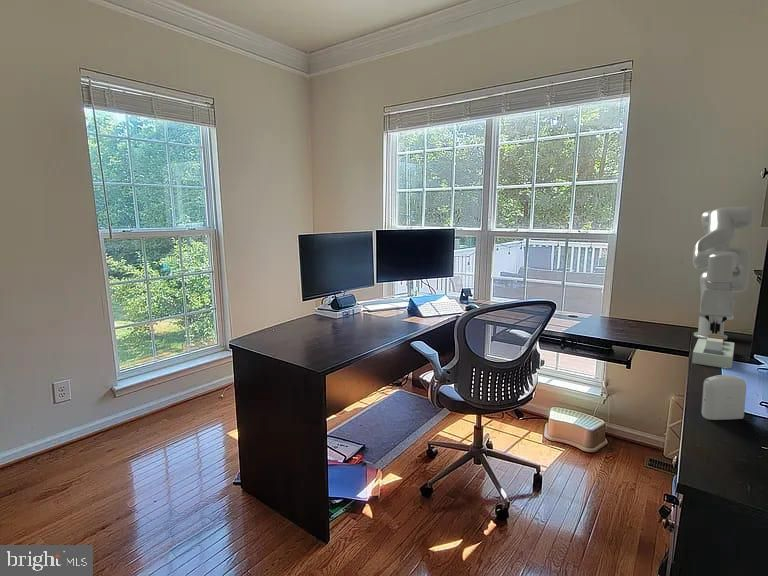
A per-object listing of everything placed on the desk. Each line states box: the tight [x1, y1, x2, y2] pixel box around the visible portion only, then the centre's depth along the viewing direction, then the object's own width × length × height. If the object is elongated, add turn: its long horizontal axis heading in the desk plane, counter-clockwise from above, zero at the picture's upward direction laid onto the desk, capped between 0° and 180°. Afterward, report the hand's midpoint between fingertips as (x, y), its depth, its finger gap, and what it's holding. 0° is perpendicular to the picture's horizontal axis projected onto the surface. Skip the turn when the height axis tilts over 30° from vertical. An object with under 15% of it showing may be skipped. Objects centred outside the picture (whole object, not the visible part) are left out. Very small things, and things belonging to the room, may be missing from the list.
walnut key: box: [708, 334, 725, 342], centre depth 175 cm, size 5×5×4 cm
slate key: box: [704, 346, 722, 355], centre depth 163 cm, size 5×5×4 cm
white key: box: [706, 338, 723, 348], centre depth 169 cm, size 5×5×4 cm
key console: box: [691, 338, 735, 369], centre depth 169 cm, size 24×12×4 cm, turn 139°
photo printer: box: [700, 374, 747, 421], centre depth 118 cm, size 10×4×12 cm, turn 90°
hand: (714, 332), depth 162 cm, fingers closed
